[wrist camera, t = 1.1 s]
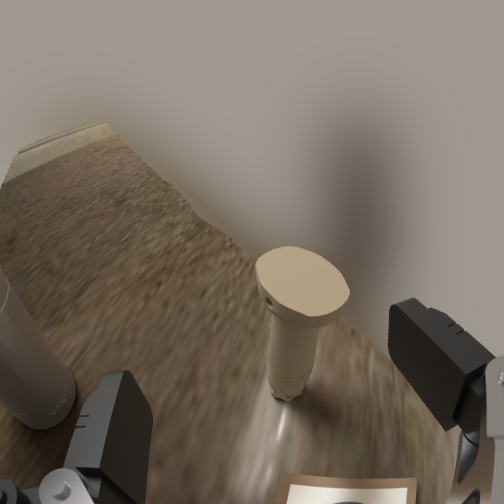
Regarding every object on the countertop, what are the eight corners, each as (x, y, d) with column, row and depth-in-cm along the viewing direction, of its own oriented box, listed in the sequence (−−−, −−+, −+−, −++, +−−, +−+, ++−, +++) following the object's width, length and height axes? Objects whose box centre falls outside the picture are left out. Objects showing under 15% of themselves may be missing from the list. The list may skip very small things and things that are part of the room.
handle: (286, 355, 32) (299, 238, 22) (325, 398, 27) (364, 291, 18) (247, 377, 30) (240, 263, 20) (284, 425, 25) (304, 329, 16)
